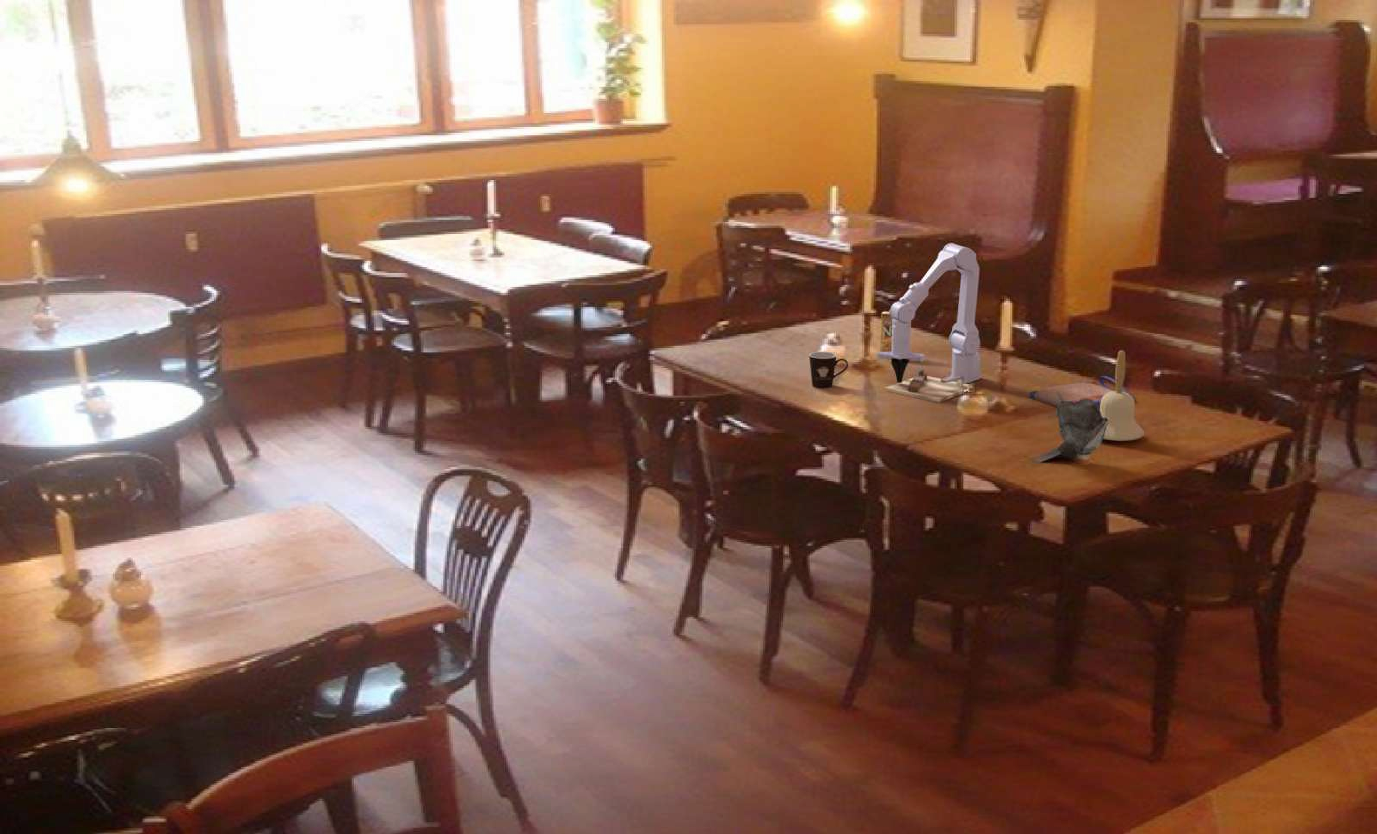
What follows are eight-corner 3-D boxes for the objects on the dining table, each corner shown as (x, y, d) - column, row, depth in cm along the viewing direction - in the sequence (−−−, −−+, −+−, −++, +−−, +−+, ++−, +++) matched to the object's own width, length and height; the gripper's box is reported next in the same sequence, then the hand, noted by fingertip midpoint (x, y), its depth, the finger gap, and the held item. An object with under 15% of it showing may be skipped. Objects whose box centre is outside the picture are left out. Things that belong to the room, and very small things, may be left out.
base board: (921, 377, 451) (921, 374, 451) (974, 389, 438) (975, 385, 438) (885, 390, 437) (885, 387, 437) (939, 402, 424) (939, 399, 424)
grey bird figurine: (1078, 475, 360) (1083, 408, 354) (1031, 459, 372) (1036, 395, 366) (1113, 463, 368) (1119, 398, 362) (1067, 449, 380) (1071, 385, 374)
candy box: (879, 357, 478) (880, 313, 473) (882, 354, 482) (883, 310, 477) (905, 359, 475) (906, 315, 470) (907, 356, 479) (909, 312, 474)
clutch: (1027, 400, 429) (1070, 415, 412) (1027, 385, 427) (1071, 399, 411) (1096, 387, 441) (1141, 401, 424) (1097, 372, 439) (1142, 386, 423)
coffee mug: (804, 387, 442) (804, 356, 439) (815, 380, 449) (815, 350, 446) (838, 391, 437) (839, 360, 434) (848, 385, 444) (849, 354, 441)
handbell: (1100, 425, 400) (1107, 341, 393) (1151, 435, 391) (1159, 349, 383) (1077, 438, 388) (1083, 351, 381) (1130, 449, 379) (1137, 360, 372)
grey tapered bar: (915, 377, 448) (915, 368, 447) (927, 378, 447) (928, 369, 446) (906, 391, 433) (906, 381, 432) (919, 392, 431) (919, 382, 430)
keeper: (945, 391, 433) (945, 380, 432) (940, 389, 434) (940, 379, 433) (963, 386, 438) (964, 376, 437) (958, 385, 439) (959, 374, 438)
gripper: (876, 341, 435) (874, 383, 439) (922, 344, 431) (921, 386, 435) (879, 336, 441) (878, 378, 445) (925, 339, 438) (923, 380, 442)
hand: (899, 381), depth 441 cm, fingers closed
